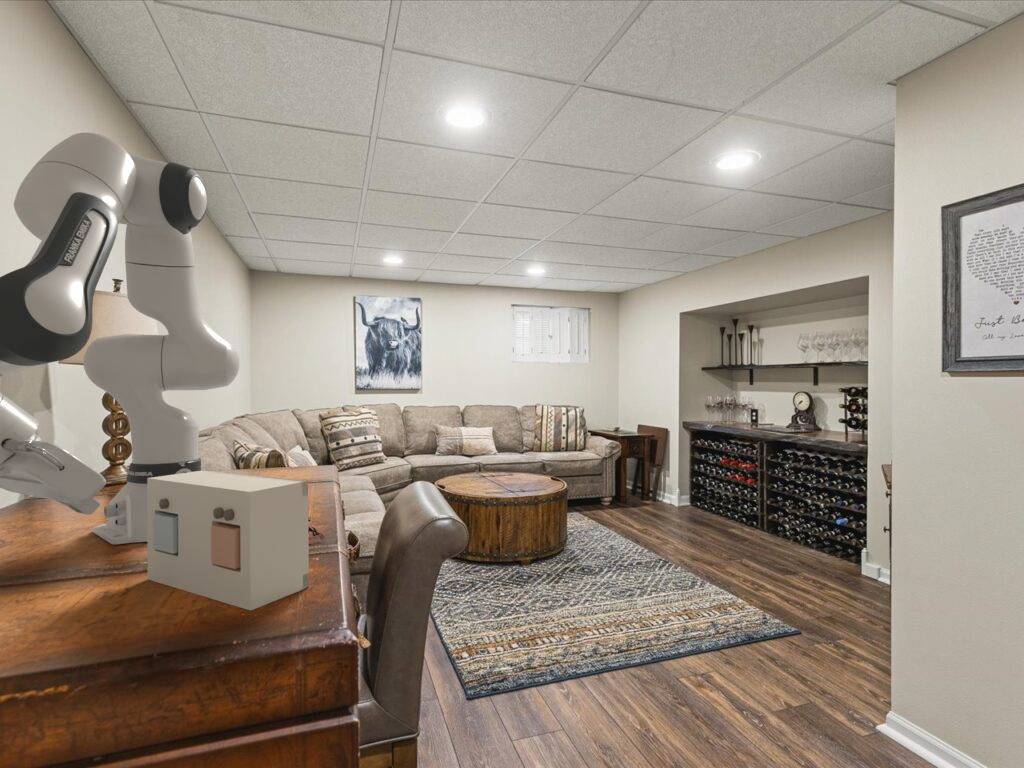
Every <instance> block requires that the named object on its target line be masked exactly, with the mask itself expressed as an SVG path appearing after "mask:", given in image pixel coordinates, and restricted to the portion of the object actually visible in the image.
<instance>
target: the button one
mask: <svg viewBox="0 0 1024 768" xmlns="http://www.w3.org/2000/svg"><path fill="white" fill-rule="evenodd" d="M219 523H223V522H219ZM153 542H154V549H157V550H161V551H165V552H169V553H177V552H178V514H174V513H169V512H163V513H157V514H153Z"/></svg>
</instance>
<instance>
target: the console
mask: <svg viewBox="0 0 1024 768" xmlns="http://www.w3.org/2000/svg"><path fill="white" fill-rule="evenodd" d="M163 512H169V513H174V514H178V552H177V553H169V552H165V551H161V550H157V549H154V542H153V514H157V513H163ZM308 518H309V480H305V479H304V480H303V479H302V480H301V479H295V478H286V477H277V476H268V475H267V476H266V475H260V474H259V475H257V474H246V473H239V472H230V471H221V470H220V471H219V470H212V469H204V470H202V469H201V471H195V472H188V473H181V474H174V475H167V476H159V477H152V478H147V527H148V542H147V580H149V581H152V582H155V583H159V584H162V585H165V586H167V587H168V586H169V587H172V588H174V589H178V590H181V591H185V592H188V593H191V594H194V595H198V596H201V597H205V598H207V599H210V600H214V601H216V602H217V601H218V602H221V603H224V604H227V605H231V606H234V607H237V608H240V609H244V610H247V611H253V610H255V609H259V608H260V607H263V606H265V605H268V604H270V603H273V602H276V601H278V600H280V599H282V598H286V597H288V596H290V595H293V594H295V593H298V592H300V591H303V590H305V589H308V588H309V587H310V585H309V584H310V581H309V580H310V579H309V577H310V576H309V575H310V572H309V571H310V568H309V567H310V565H309V564H310V563H309V562H310V561H309V559H310V554H309V544H310V543H309V541H310V537H309V533H308V526H309V522H308ZM219 522H223V523H228V524H234V525H239V526H240V562H241V567H240V568H236V569H233V568H229V567H225V566H221V565H217V564H213V563H211V525H215V524H219ZM307 587H308V588H307Z"/></svg>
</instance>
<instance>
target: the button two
mask: <svg viewBox="0 0 1024 768" xmlns="http://www.w3.org/2000/svg"><path fill="white" fill-rule="evenodd" d="M211 563H213V564H217V565H221V566H225V567H229V568H233V569H236V568H240V567H241V562H240V526H239V525H234V524H228V523H219V524H215V525H211Z"/></svg>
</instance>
